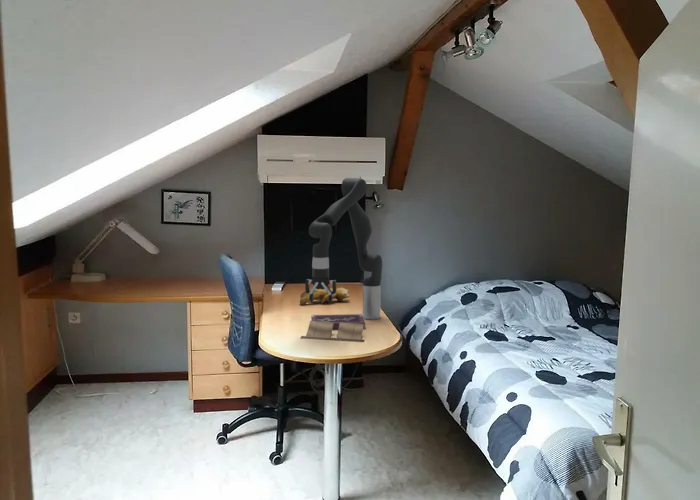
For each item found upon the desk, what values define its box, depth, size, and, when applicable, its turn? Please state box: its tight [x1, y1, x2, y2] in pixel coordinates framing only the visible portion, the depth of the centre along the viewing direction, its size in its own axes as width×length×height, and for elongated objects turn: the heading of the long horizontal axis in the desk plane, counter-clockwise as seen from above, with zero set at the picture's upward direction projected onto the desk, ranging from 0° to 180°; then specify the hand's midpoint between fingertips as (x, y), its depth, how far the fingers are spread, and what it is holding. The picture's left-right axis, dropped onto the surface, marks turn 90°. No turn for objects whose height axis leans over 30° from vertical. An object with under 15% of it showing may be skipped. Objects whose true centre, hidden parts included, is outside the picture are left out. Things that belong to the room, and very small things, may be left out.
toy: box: [299, 287, 351, 306], centre depth 317 cm, size 14×9×30 cm
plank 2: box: [335, 323, 364, 339], centre depth 244 cm, size 9×11×1 cm
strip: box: [299, 335, 365, 343], centre depth 241 cm, size 3×29×2 cm, turn 78°
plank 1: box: [305, 320, 334, 338], centre depth 247 cm, size 9×11×1 cm
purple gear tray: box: [310, 313, 366, 331], centre depth 264 cm, size 25×16×5 cm, turn 94°
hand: (321, 302), depth 247 cm, fingers open, 7 cm apart
